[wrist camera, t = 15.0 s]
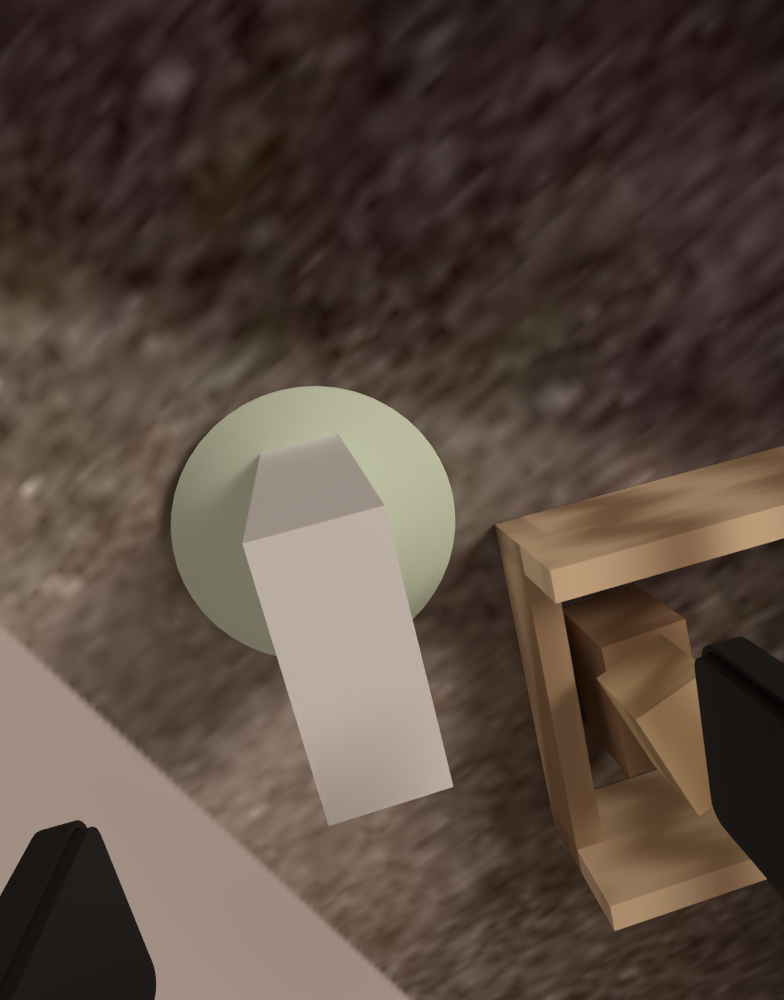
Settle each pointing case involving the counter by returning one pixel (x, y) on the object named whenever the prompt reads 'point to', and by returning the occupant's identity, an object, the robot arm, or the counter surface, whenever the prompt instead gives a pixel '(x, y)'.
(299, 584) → the white rectangular block
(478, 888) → the counter surface
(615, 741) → the offcut lower
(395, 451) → the disc
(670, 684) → the offcut upper
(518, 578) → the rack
